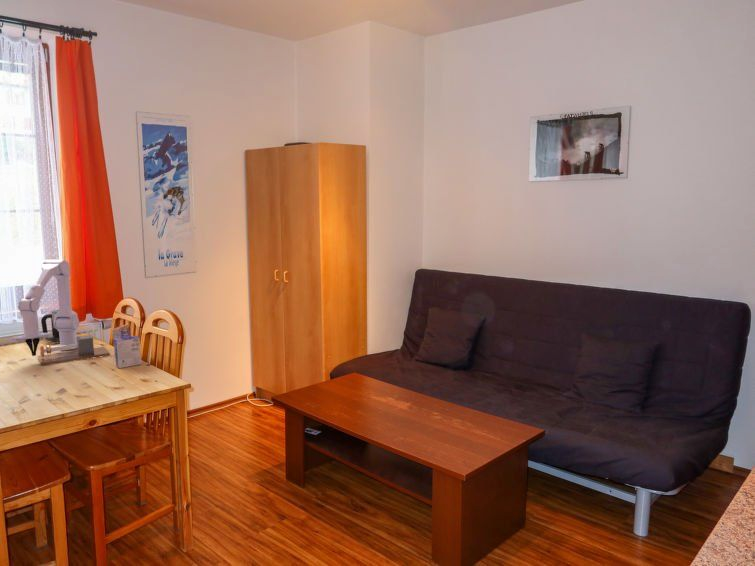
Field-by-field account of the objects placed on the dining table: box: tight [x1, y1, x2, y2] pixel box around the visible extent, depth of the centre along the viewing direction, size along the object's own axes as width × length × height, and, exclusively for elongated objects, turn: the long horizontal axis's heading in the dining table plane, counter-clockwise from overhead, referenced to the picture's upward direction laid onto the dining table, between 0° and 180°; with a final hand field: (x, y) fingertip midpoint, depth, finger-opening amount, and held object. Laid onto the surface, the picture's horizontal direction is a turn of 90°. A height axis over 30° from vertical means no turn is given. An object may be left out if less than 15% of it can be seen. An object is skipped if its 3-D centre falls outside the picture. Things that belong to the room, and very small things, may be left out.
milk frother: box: [40, 309, 60, 344], centre depth 306 cm, size 14×16×15 cm
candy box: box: [111, 324, 131, 363], centre depth 268 cm, size 9×4×15 cm, turn 177°
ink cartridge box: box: [112, 332, 142, 369], centre depth 260 cm, size 10×6×14 cm, turn 129°
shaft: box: [38, 343, 79, 357], centre depth 272 cm, size 19×5×5 cm, turn 123°
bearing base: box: [37, 334, 111, 366], centre depth 275 cm, size 28×14×9 cm, turn 123°
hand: (33, 355), depth 266 cm, fingers closed
